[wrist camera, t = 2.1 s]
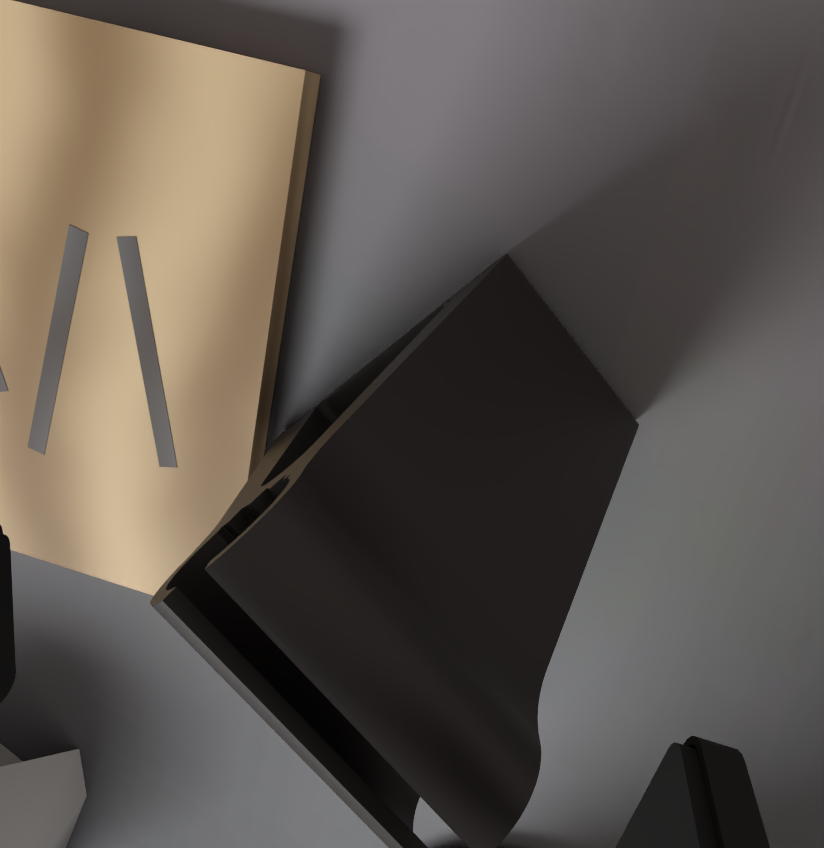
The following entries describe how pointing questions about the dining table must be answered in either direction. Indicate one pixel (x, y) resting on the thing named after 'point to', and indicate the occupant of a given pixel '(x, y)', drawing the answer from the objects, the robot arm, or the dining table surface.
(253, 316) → the marked board
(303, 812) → the dining table surface
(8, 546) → the robot arm
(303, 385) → the dining table surface
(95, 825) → the dining table surface
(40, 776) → the toilet tissue
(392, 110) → the dining table surface
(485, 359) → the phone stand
